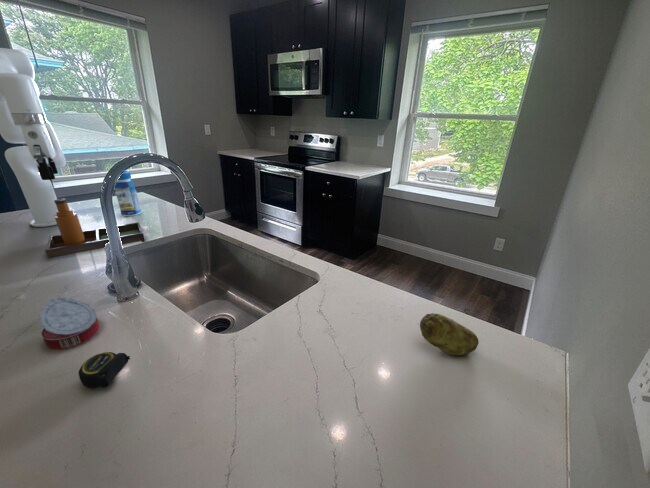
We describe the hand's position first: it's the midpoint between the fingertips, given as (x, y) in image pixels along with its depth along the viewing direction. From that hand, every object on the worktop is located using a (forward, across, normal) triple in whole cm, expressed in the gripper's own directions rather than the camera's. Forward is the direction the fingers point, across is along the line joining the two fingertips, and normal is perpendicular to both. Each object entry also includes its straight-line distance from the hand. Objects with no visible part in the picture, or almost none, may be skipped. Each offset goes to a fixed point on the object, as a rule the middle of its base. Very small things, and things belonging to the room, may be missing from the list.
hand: (50, 176), depth 97 cm
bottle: (+26, +1, 0) cm, 26 cm away
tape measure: (+27, -72, -8) cm, 77 cm away
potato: (+27, -105, -72) cm, 130 cm away
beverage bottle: (+26, +32, -20) cm, 46 cm away
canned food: (+27, -54, -1) cm, 61 cm away
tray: (+26, +1, -7) cm, 27 cm away
